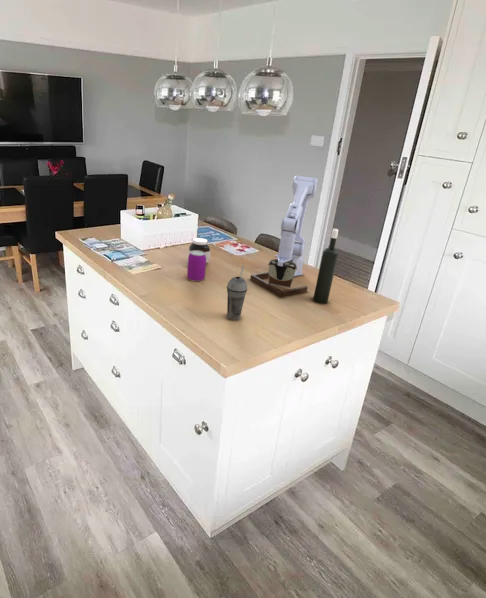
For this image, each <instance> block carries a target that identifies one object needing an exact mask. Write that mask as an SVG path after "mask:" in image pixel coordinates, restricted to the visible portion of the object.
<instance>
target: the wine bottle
mask: <svg viewBox="0 0 486 598" xmlns="http://www.w3.org/2000/svg"><path fill="white" fill-rule="evenodd" d="M339 231H340V230H339V228H332V230H331V235H330V241H329V246H328V247H326V248H324V249H323V251H322V253H321V254H322V255H321V259H320V265H319V269H318V274H317V280H316V284H315V288H314V293H313V298H312V301H313V302H314V303H317V304H320V305H326V304H328V302H329V298H330V294H331V289H332V285H333V279H334V277H335V276H334V275H335V271H336V267H337V261H338V257H339V251H338V249H336V244H337V243H336V242H337V239H338V235H339Z"/></svg>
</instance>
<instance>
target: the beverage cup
mask: <svg viewBox="0 0 486 598" xmlns="http://www.w3.org/2000/svg"><path fill="white" fill-rule="evenodd" d="M244 267H245V265H244V264H243V265H242V266H241V271H240V274H239V276H233V277H232V278H230V279H229V280H228V281H227V286H226V292H227V293H226V294H227V305H226V307H227V309H226V310H227V311H226V313H227V319H228V320H231V321H239V320H240V318H241V315H242V311H243V306H244V302H245V298H246V295H247V292H248V283H247V281H246V280H245V279H244V278H243V277H242V275H243V272H244Z"/></svg>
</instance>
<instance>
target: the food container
mask: <svg viewBox="0 0 486 598" xmlns="http://www.w3.org/2000/svg"><path fill="white" fill-rule="evenodd" d="M276 262H277V263H278V258H274V259H270V260H269V262H268V263H267V266H268V272H269V278H268V283H269V284H271V285H273V286H279V287H284V288H288V289H291V287H292V284H293V280H294V277H295V276H294V274H295V271H296V269H297V265H296V264H295V263H294V262H292V261H288V262H285V263H284V264H285V265H288V267H287V269H286V271H285V273H284V276H283V279H282V280H278V279H277V273H276V268H275V263H276Z"/></svg>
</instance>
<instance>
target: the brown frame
mask: <svg viewBox="0 0 486 598" xmlns="http://www.w3.org/2000/svg"><path fill="white" fill-rule="evenodd" d="M249 278H250V279H249V280H250V281H251V282H253V283H255V284H256V285H258V286H260V287H261V288H263V289H264V290H266V291H268V292H270V293H272V294H274V295H275V296H277V297H279V298H286V297H290V296H295V295H300V294H305V293H307V292H308V288H309V287H308V286H307V285H304V286H298V287H293V288H287V289H284V290H281V289H280V288H278V287H277V286H275V285H273V284H269V282H268V281H266V279H269V271H267V272H266V271H264V272H260V273H252V274H250V277H249Z"/></svg>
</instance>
